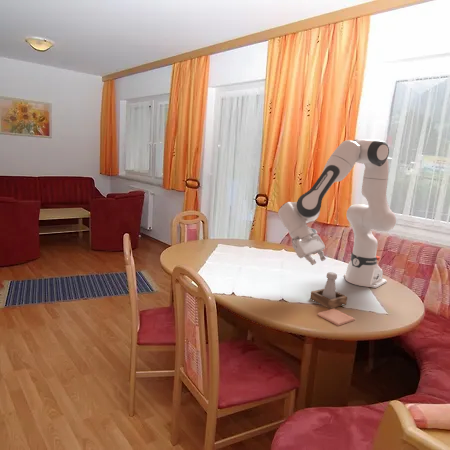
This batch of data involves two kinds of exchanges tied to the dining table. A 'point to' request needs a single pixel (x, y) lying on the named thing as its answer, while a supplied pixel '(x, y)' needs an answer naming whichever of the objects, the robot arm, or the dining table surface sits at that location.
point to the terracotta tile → (336, 316)
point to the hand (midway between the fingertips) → (319, 262)
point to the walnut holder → (326, 301)
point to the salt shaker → (330, 286)
